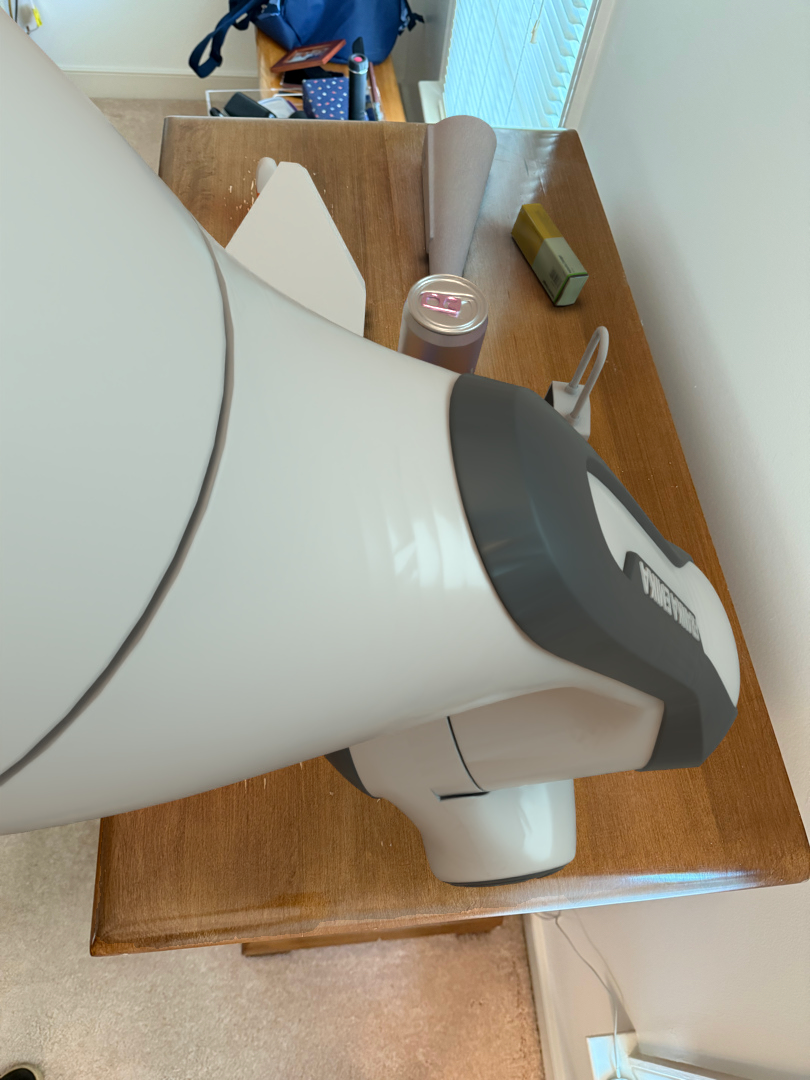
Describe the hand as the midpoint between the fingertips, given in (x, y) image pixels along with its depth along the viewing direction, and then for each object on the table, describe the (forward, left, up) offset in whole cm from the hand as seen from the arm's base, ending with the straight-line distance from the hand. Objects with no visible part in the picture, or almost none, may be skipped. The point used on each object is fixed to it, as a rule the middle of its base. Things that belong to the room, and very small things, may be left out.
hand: (443, 416), depth 52 cm
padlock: (+8, +14, -16) cm, 23 cm away
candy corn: (-30, +28, -16) cm, 44 cm away
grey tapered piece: (-10, +36, -16) cm, 41 cm away
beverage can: (-2, +5, -10) cm, 12 cm away
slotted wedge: (-20, +16, -16) cm, 30 cm away
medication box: (0, +37, -16) cm, 40 cm away
